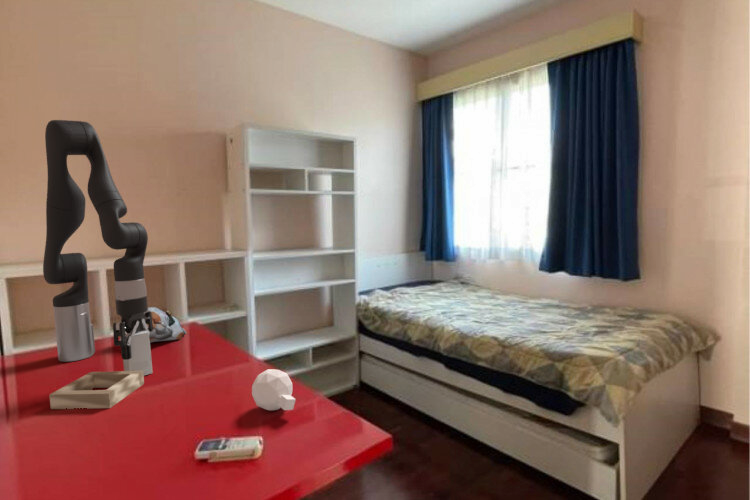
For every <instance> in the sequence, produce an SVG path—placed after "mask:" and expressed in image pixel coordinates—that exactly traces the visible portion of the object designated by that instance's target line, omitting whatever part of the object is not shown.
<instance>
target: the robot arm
mask: <svg viewBox="0 0 750 500" xmlns="http://www.w3.org/2000/svg"><path fill="white" fill-rule="evenodd" d="M44 135H45V137H44V138H45V142H44V143H45V155H46V165H47V186H46V187H47V189H46V190H47V191H46V203H45V204H46V206H45V209H46V210H45V212H46V214H45V215H46V216H45V221H46V223H45V224H46V232H45V233H46V237H45V247H44V253H43V263H42V266H43V267H42V272H43V279H44V280H45V282H46V283H47V284H49V285H62V284H63V285H64V284H68V283H69V284H72V286H71V287H70V288H68V289H67V290H65V291H64V292H61V293H59V294H57V295H55V296H53V297H52V306H53V307H52V309H53V316H54V317H53V318H54V328H55V329H54V330H55V339H56V346H57V358H58V361H59V362H64V363H65V362H75V361H81V360H84V359H88V358H90V357H92V356H93V355H94V353H96V346H95V336H94V325H93V323H92V322H91V312H90V310H91V309H90V299H89V285H88V284H89V282H88V281H89V279H88V264H87V263H88V261H87V259H86V257H85V255H84V254H83V253H82V252H70V253H61V252H62V250H63V248H64V246H65V244H66V243H67V241H68V240H69V239H70V238H71V237H72V235H74V234H75V233H76V232H77V231H78V229H79V228H80V227H81V226H82V224H83V222H84V221H85V216H86V215H85V214H86V197H85V194H84V193H83V191H82V189H81V188H80V187H79V185H78V184H77V182H76V181H75V180H74V179H73V177H72V175H71V174H70V172H69V169H68V162H67V161H68V156H86V159H88V161H89V164H90V173H89V178H88V180H87V181H88V182H87V195H88V197H89V200H90V202H91V203H92V205H93V207H94V210H95V211H96V213H97V215H98V219H99V220H98V221H99V226H100V232H101V237H102V239H103V242H104V243H105V244H106V245H107V246H108V248H110V249H112V250H125V253H124V255H123V256H122V257H120V258H117V259H115V260H114V262H113V276H114V277H113V278H114V299H115V310H116V311H115V312H116V315H117V316H120V319H121V320H120V322H114V323H113V324H112V329H113V331H112V336H113V345H114V346H115V347H117V346H118V347H119V346H120V353H121V359H122V361H123V360H128V359H131V358H132V355H131V345H130V343H131V339H132V338H133V337H134V335H135V333H137V332H138V331H141V330H145V331H147V332H149V335H150V332H152V331H153V324H152V315H151V312H150V311H149V312H146V311H147V310H148V308H149V304H148V295H147V294H148V293H147V284H146V279H145V272H144V271H145V269H144V261H145V257H146V251H147V246H148V241H149V240H148V239H149V238H148V237H149V236H148V231H147V229H146V228H145V226H143V224H141V223H139V222H134V221H133V222H132V221H131V222H121V220H120V219H121V218H123V217H124V216H126V215H127V213H128V207H127V205H126V202H125V201H124V199H123V197H122V196H121V193H120V191H119V190H118V188H117V185H116V183H115V181H114V178H113V176H112V174H111V171H110V167H109V165H108V161H107V158H106V154H105V152H104V150H103V149H104V148H103V146H102V144H101V143H102V142H101V140H100V138H99V135H98V133H97V131H96V129H95V128H94V126H93V125H92V124H91V123H89V122H87V121H81V120H64V119H52V120H50V121H48V123H46V126H45V134H44ZM147 324H149V327H148V326H147ZM119 337H120V338H119ZM126 338H127V341H126Z"/></svg>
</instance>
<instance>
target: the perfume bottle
mask: <svg viewBox="0 0 750 500" xmlns="http://www.w3.org/2000/svg"><path fill="white" fill-rule="evenodd" d="M293 385H294V384H293V382H292V380H291V378H290V376H289V374H288V373H286V372H284V371H282V370H280V369H274V368H272V369H271V368H270V369H269V368H268V369H266V370H264V371H262V372H261V373H259V374H257V376H256V378H255V380H254V382H253V383H252V386H251V395H252V396H251V397H252V398H253V400H254V403H255V404H256V406H257V407H259V408H261V409H264V410H267V411H278V410H279V409H282V410H283V411H292V410H294V407H295V404H296V401H297V400H296V398H295V397H294V396H292V394H293Z"/></svg>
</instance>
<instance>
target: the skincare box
mask: <svg viewBox="0 0 750 500" xmlns="http://www.w3.org/2000/svg"><path fill="white" fill-rule="evenodd" d="M126 341H127V338H126ZM130 345H131V355H132V358H131V359H128V360H123V359H122V362H123V363H122V364H123V371H143V376H144V377H145V376H147V375H151V374H153V373H154V371H153V363H152V362H153V361H152V351H151V343H150V340H149V332H147V331H145V330H141V331H138V332H137V333H135V335H134V337H133V338H132V339H131V343H130Z"/></svg>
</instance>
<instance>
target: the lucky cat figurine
mask: <svg viewBox="0 0 750 500" xmlns="http://www.w3.org/2000/svg"><path fill="white" fill-rule="evenodd" d="M149 311H150V312H151V315H152V324H153V331H152V332H150V335H149V340H150V344H152V343H156V342H167V341H181V338H182V337H183V338H184V336H185V335H187V333H188V332H187V331H186V329H185V328H184V327H182V326H181V323H180V321H179V319H178V318H176V317H174V316H173V315H172V311H170V310H168V309H167V310H166V311H163V310H162V309H160V308H157V307H155V306H151V307H149V306H148V310H147V311H146V312H149ZM147 326H148V327H149V324H147ZM183 338H182V339H183Z"/></svg>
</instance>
